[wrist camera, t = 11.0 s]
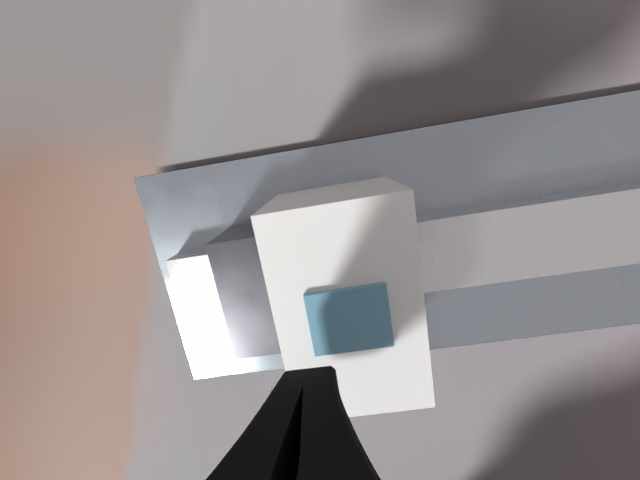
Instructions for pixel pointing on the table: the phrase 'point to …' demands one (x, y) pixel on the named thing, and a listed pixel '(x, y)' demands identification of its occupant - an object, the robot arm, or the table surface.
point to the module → (350, 290)
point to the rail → (427, 228)
